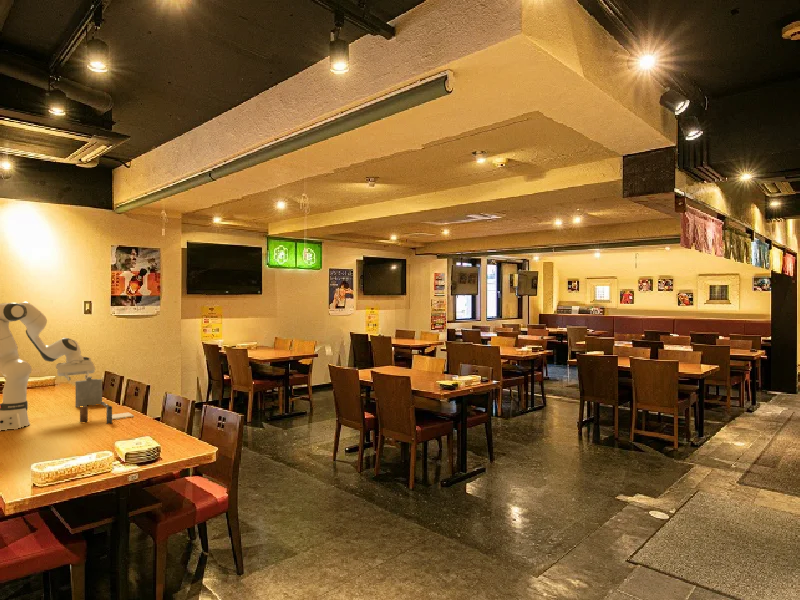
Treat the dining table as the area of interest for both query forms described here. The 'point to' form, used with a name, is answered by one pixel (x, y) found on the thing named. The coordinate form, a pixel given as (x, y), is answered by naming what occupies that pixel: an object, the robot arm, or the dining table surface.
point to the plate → (121, 415)
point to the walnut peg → (84, 414)
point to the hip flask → (88, 392)
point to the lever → (108, 412)
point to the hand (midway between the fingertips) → (78, 379)
